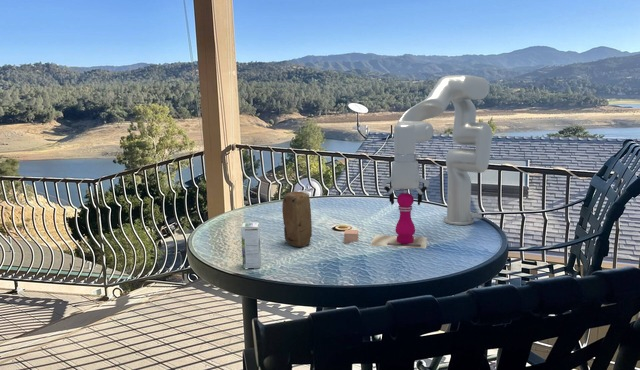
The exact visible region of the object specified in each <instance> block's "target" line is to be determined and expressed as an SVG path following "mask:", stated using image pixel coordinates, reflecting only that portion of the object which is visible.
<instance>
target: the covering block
mask: <svg viewBox="0 0 640 370" xmlns="http://www.w3.org/2000/svg"><path fill="white" fill-rule="evenodd" d="M343 235H344V236H343V239H344V241H343V242H344V244H351V242H358V240H359V229H345V230H344V232H343Z"/></svg>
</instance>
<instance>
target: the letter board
mask: <svg viewBox="0 0 640 370" xmlns="http://www.w3.org/2000/svg"><path fill="white" fill-rule="evenodd" d="M397 236H398V235H386V234H385V235H383V234H380V235H378V234H375V235H374V237H373V239H372V241H371V243H370V246H372V247H373V246H374V247H393V248H394V247H395V248H413V249H427V243H428V237H425V236H413V237H414V242H413V243H410V244H402V243H398V242H397Z"/></svg>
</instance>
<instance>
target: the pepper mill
mask: <svg viewBox="0 0 640 370" xmlns="http://www.w3.org/2000/svg"><path fill="white" fill-rule="evenodd" d="M396 200H397V201H396V202H397V204H398V211H399V218H398V221H397V222H396V226H395V233H396V236H397V242H398V243H402V244H410V243H413V242H414V237H415V236H413V235H414V234H415V233H416V227H415V225H414V222H413V219H412V211H413V206H412V205H413V204H414V196H413V195H412V194H411V193H409V189H402V193H400V194H399V195H398V196H397V199H396Z"/></svg>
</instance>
